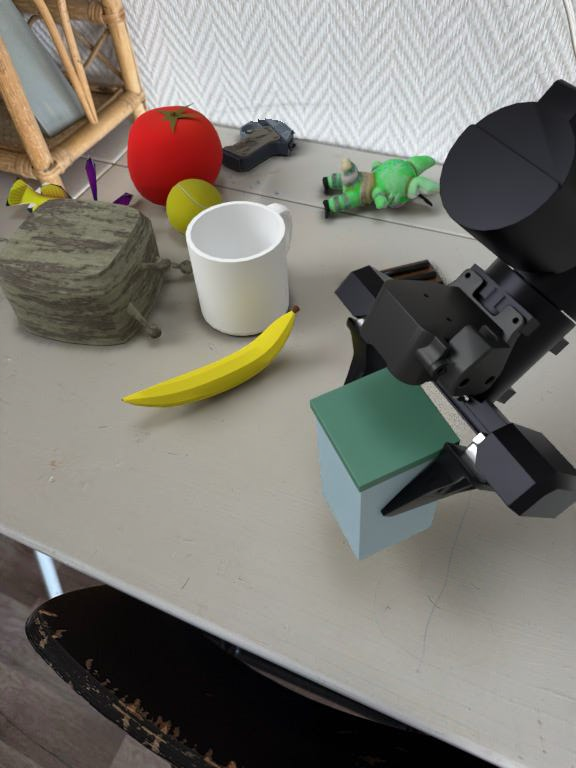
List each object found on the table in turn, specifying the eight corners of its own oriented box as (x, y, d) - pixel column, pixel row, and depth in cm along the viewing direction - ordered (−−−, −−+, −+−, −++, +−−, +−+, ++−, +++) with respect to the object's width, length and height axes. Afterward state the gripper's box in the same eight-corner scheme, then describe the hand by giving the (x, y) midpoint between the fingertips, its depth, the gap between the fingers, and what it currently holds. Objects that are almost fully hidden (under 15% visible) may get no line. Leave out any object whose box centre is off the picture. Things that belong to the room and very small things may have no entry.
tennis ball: (225, 247, 76) (199, 222, 80) (239, 196, 72) (211, 171, 76) (177, 247, 72) (152, 220, 76) (189, 192, 68) (162, 167, 72)
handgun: (196, 135, 93) (265, 114, 96) (230, 177, 85) (305, 153, 87) (193, 119, 91) (264, 99, 94) (228, 161, 83) (304, 137, 86)
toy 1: (168, 205, 80) (142, 274, 80) (51, 171, 84) (26, 236, 84) (127, 164, 69) (97, 244, 68) (-6, 127, 73) (-34, 203, 73)
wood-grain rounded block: (201, 269, 72) (16, 245, 76) (189, 205, 65) (-14, 182, 69) (158, 356, 63) (-48, 323, 67) (139, 293, 56) (-90, 260, 60)
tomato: (114, 202, 81) (89, 121, 72) (181, 157, 88) (166, 77, 79) (181, 232, 76) (162, 149, 67) (246, 181, 83) (238, 100, 74)
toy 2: (327, 237, 77) (444, 219, 75) (317, 188, 72) (444, 167, 69) (326, 193, 84) (434, 175, 81) (317, 144, 78) (433, 123, 76)
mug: (245, 351, 63) (234, 276, 55) (183, 309, 67) (165, 234, 59) (321, 289, 68) (322, 213, 60) (259, 254, 73) (252, 179, 65)
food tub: (390, 459, 47) (402, 359, 37) (434, 528, 44) (461, 440, 33) (318, 492, 46) (309, 399, 36) (357, 565, 43) (359, 487, 32)
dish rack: (426, 265, 71) (428, 253, 69) (457, 309, 66) (460, 297, 64) (347, 284, 69) (348, 272, 68) (373, 331, 64) (375, 319, 63)
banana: (129, 420, 58) (111, 379, 53) (292, 340, 64) (290, 296, 59) (140, 441, 56) (123, 400, 51) (307, 357, 62) (306, 313, 57)
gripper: (369, 146, 33) (212, 350, 39) (629, 375, 22) (356, 610, 28) (460, 223, 41) (319, 382, 47) (684, 418, 30) (463, 593, 36)
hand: (356, 470), depth 39 cm, fingers closed on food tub, 7 cm apart
